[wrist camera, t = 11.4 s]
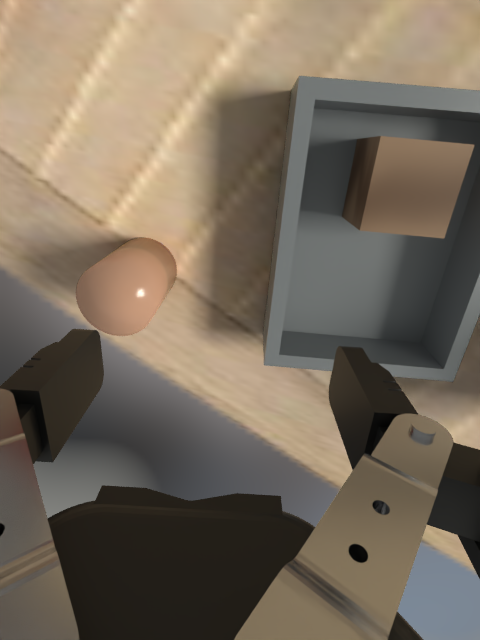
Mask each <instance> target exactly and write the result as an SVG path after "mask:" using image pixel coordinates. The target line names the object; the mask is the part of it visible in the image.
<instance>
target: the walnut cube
mask: <svg viewBox="0 0 480 640" xmlns="http://www.w3.org/2000/svg"><path fill="white" fill-rule="evenodd" d="M473 148H474V145H473V144H462V143H451V142H440V141H429V140H419V139H408V138H397V137H386V136H377V137H369V138H361V139H357V143H356V148H355V153H354V158H353V163H352V168H351V173H350V178H349V183H348V188H347V193H346V198H345V203H344V208H343V213H342V217H343V218H344V219H345V220H347V221H348V222H349V223H351V224H352V225H353V226H354V227H356V228H357V229H358V230H360V231H369V232H380V233H391V234H401V235H412V236H423V237H433V238H445V234H446V231H447V228H448V225H449V222H450V219H451V216H452V213H453V210H454V207H455V204H456V201H457V198H458V195H459V191H460V188H461V185H462V182H463V179H464V176H465V173H466V170H467V167H468V164H469V161H470V158H471V155H472V151H473Z"/></svg>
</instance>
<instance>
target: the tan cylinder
mask: <svg viewBox="0 0 480 640" xmlns="http://www.w3.org/2000/svg"><path fill="white" fill-rule="evenodd" d="M176 276H177V267H176V262H175V259H174V257H173V255H172V254H171V252H170V251H169V250H168V249H167V248H166V247H165V246H164V245H163V244H161V243H160V242H158V241H156V240H153V239H150V238H135V239H132V240H130V241H128V242H126V243H125V244H123V245H122V246H120V247H119V248H118V249H116V250H115V251H113V252H112V253H110V254H109V255H107V256H106V257H105V258H103V259H102V260H100V261H99V262H97V263H96V264H95V265H93V266H92V267H90V268H89V269H87V270H86V271H85V272H84V273H83V274H82V276H81V277H80V279H79V281H78V283H77V288H76V299H77V303H78V306H79V309H80V311H81V313H82V314H83V316H84V317H85V318H86V319H87V321H88V322H89V323H90V324H92V325H93V326H94V327H96V328H97V329H99V330H101V331H103V332H105V333H107V334H111V335H116V336H128V335H132V334H135V333H137V332H139V331H141V330H142V329H144V328H145V327H146V326H147V325H148V324H149V322H150V321H151V319H152V318H153V316H154V314H155V313H156V311H157V310H158V308H159V307H160V305H161V303H162V302H163V300H164V299H165V297H166V295H167V294H168V292H169V291H170V289H171V288H172V286H173V284H174V282H175V280H176Z"/></svg>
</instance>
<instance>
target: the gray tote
mask: <svg viewBox="0 0 480 640" xmlns="http://www.w3.org/2000/svg"><path fill="white" fill-rule="evenodd" d="M377 136H386V137H397V138H408V139H419V140H429V141H440V142H451V143H462V144H473V145H474V148H473V151H472V155H471V158H470V161H469V164H468V167H467V170H466V173H465V176H464V179H463V182H462V185H461V188H460V191H459V195H458V198H457V201H456V204H455V207H454V210H453V213H452V216H451V219H450V222H449V225H448V228H447V231H446V234H445V238H433V237H423V236H412V235H401V234H391V233H380V232H369V231H360V230H358V229H357V228H356V227H354V226H353V225H352V224H351V223H349V222H348V221H347V220H345V219H344V218H343V217H342V213H343V208H344V203H345V198H346V193H347V188H348V183H349V178H350V173H351V168H352V163H353V158H354V153H355V148H356V143H357V139H361V138H369V137H377ZM479 315H480V91H477V90H465V89H453V88H441V87H429V86H417V85H405V84H392V83H380V82H368V81H356V80H344V79H332V78H320V77H307V76H299V77H298V79H297V81H296V83H295V85H294V86H293V88H292V90H291V97H290V105H289V114H288V123H287V131H286V140H285V148H284V157H283V166H282V174H281V183H280V191H279V200H278V209H277V217H276V226H275V235H274V243H273V252H272V260H271V269H270V278H269V286H268V295H267V304H266V312H265V321H264V329H263V351H264V365H267V366H279V367H290V368H301V369H313V370H324V371H332V370H333V364H334V359H335V354H336V350H337V348H338V347H339V346H348V347H361V348H363V350H364V351H365V353H366V355H367V356H368V358H369V359H370V361H371V362H373V363H378V364H380V365H381V366H382V367H384V368H385V369H386V370H388V371H389V372H390V373H391V375H392V376H393V377H404V378H415V379H427V380H438V381H449V382H453V381H454V378H455V376H456V373H457V371H458V368H459V366H460V363H461V361H462V358H463V356H464V353H465V351H466V348H467V345H468V343H469V340H470V338H471V335H472V333H473V330H474V328H475V325H476V323H477V320H478V318H479Z"/></svg>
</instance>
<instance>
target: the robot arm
mask: <svg viewBox="0 0 480 640" xmlns="http://www.w3.org/2000/svg"><path fill="white" fill-rule="evenodd" d="M103 376H104V370H103V361H102V352H101V341H100V335H99V333H98V331H97V330H84V329H72V330H71V331H70V332H69V333H68V334H67V335H66V336H65V337H64V338H63V339H62V340H61V341H60V342H55V343H53V344H51V345H49V346H47V347H45V348H43V349H41V350H40V351H38V353H36V354H35V355H34V356H33V357H32V358H31V360H29V361H27V362H26V363H25V364H24V365H23V367H21V368H20V369H19V370H18V371H16V372H15V373H14V374H13V375H12V376H11V377H10V378H9V379H8V380H7V381H5V382H4V383H3V384H2V385H1V386H0V640H423V639H422V638H421V637H420V635H419V634H418V633H417V632H416V631H415V630H414V629H413V628H412V627H411V626H410V625H409V624H408V623H407V621H405V619H404V618H403V617H402V616H401V615H400V614H399V613H398V612H397V610H398V607H399V604H400V601H401V598H402V595H403V592H404V589H405V586H406V583H407V580H408V578H409V574H410V571H411V569H412V566H413V563H414V560H415V557H416V554H417V551H418V548H419V545H420V542H421V540H422V537H423V534H424V531H425V528H426V525H430V526H433V527H436V528H439V529H442V530H445V531H448V532H451V533H454V534H457V535H458V537H459V539H460V541H461V543H462V545H463V547H464V549H465V551H466V553H467V555H468V557H469V559H470V561H471V563H472V565H473V567H474V569H475V571H476V572H477V574H478V576H479V578H480V450H478V449H474V448H471V447H467V446H463V445H460V444H457V443H454V442H453V438H452V436H451V434H450V433H449V432H448V430H447V429H446V428H444V427H443V426H442V425H441V424H439V423H438V422H436V421H434V420H432V419H430V418H427V417H425V416H421V415H418V413H417V412H416V410H415V409H414V407H413V406H412V404H411V403H410V401H409V400H408V398H407V397H406V395H405V394H404V393H403V391H401V388H400V387H399V385H398V384H397V383H396V381H395V379H394V378H393V376H392V375H391V373H390V372H389V371H388V370H386V369H385V368H384V367H382V366H381V365H380V364H378V363H373V362H371V361H370V359H369V358H368V356H367V355H366V353H365V351H364V350H363V348H361V347H348V346H339V347H338V348H337V350H336V354H335V359H334V364H333V370H332V375H331V380H330V385H329V401H330V405H331V408H332V411H333V414H334V417H335V420H336V423H337V426H338V429H339V431H340V434H341V437H342V440H343V443H344V446H345V449H346V452H347V455H348V458H349V461H350V463H351V466H352V469H353V471H352V473H351V474H350V476H349V477H348V479H347V480H346V482H345V483H344V485H343V486H342V488H341V489H340V491H339V493H338V494H337V495H336V497H335V499H334V500H333V502H332V503H331V505H330V506H329V508H328V509H327V511H326V512H325V514H324V515H323V517H322V518H321V520H320V521H319V523H318V524H317V526H316V527H314V526H313V525H311V524H310V523H308V522H306V521H304V520H303V519H300V518H299V517H297V516H294V515H292V514H290V513H286V512H283V511H282V504H281V496H271V495H254V494H238V493H237V494H231V495H225V496H219V497H213V498H207V499H201V500H195V501H188V500H184V499H181V498H177V497H174V496H170V495H167V494H164V493H161V492H157V491H154V490H151V489H147V488H136V487H118V486H102V487H101V489H100V491H99V494H98V496H97V498H96V500H95V501H91V502H86V503H83V504H79V505H76V506H73V507H70V508H68V509H66V510H63V511H61V512H59V513H57V514H55V515H53V516H52V517H50V518H48V519H47V515H46V511H45V508H44V504H43V500H42V496H41V493H40V489H39V485H38V482H37V478H36V474H35V470H34V467H33V464H34V463H35V461H41V462H53V461H54V460H55V458H56V457H57V455H58V454H59V452H60V450H61V449H62V447H63V446H64V444H65V443H66V441H67V440H68V438H69V436H70V435H71V434H72V432H73V430H74V429H75V427H76V426H77V424H78V423H79V421H80V419H81V418H82V416H83V415H84V413H85V412H86V410H87V409H88V407H89V406H90V404H91V403H92V401H93V399H94V398H95V396H96V395H97V393H98V392H99V390H100V388H101V386H102V382H103Z"/></svg>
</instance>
